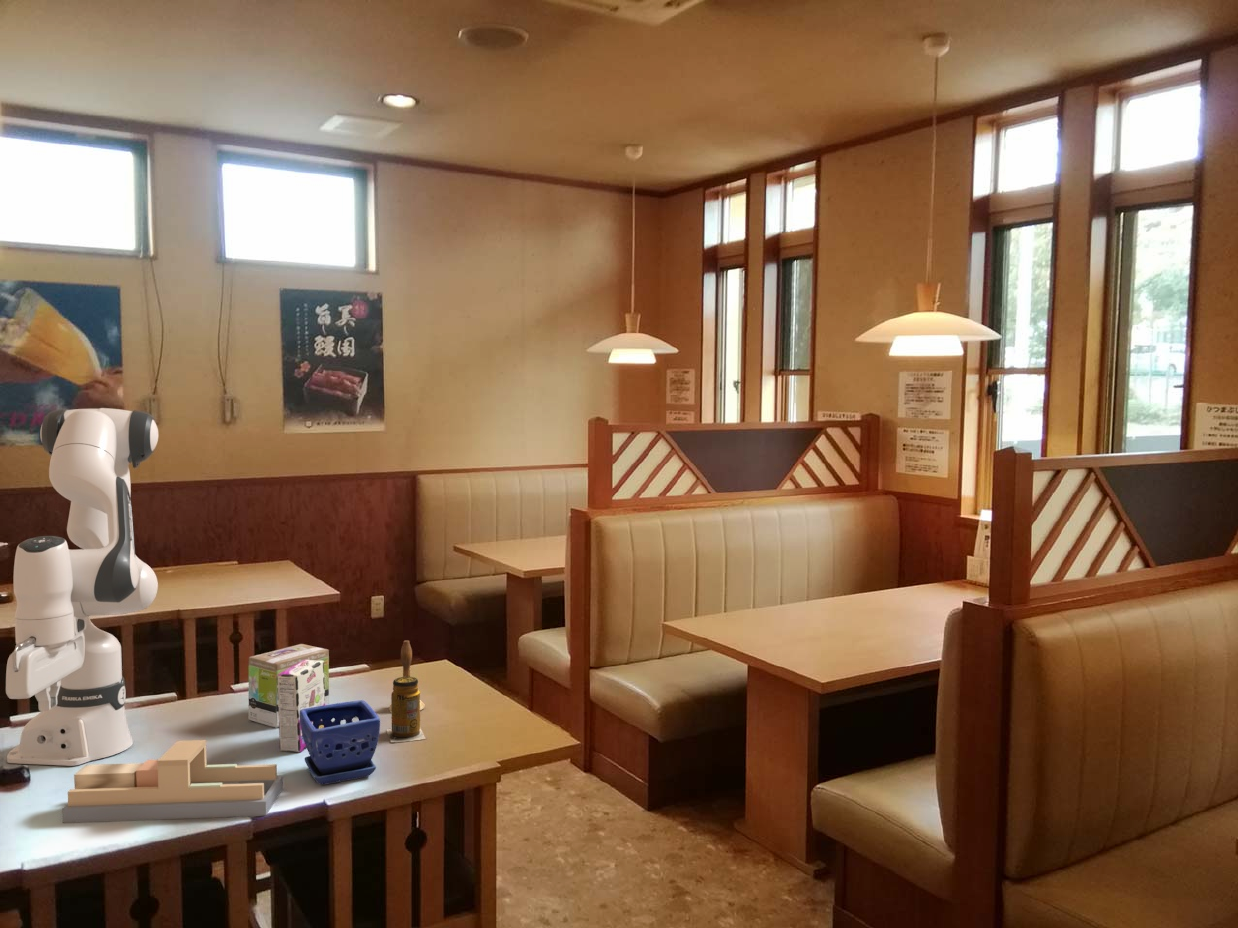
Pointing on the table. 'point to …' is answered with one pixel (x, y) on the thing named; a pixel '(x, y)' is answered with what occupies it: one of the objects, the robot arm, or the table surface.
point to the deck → (182, 791)
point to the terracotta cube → (148, 774)
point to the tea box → (265, 679)
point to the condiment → (405, 711)
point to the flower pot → (340, 741)
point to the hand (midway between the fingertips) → (48, 708)
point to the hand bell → (407, 664)
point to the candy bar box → (298, 700)
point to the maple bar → (107, 776)
